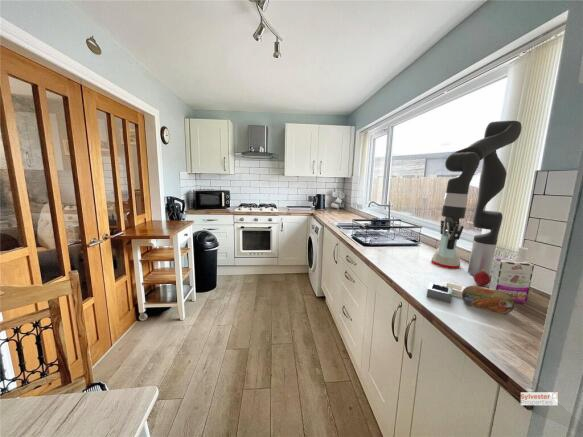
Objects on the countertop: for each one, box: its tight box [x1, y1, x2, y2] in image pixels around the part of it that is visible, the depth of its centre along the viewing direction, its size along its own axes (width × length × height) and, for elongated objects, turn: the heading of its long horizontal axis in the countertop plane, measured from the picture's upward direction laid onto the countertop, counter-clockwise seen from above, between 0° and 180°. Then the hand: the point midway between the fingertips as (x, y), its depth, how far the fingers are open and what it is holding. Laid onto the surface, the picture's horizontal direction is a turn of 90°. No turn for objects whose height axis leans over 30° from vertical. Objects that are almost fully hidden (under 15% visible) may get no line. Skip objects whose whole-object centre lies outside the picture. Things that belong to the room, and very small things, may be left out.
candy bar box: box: [489, 257, 535, 304], centre depth 96 cm, size 11×5×16 cm, turn 77°
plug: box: [438, 233, 458, 258], centre depth 94 cm, size 4×4×9 cm
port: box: [426, 281, 453, 304], centre depth 95 cm, size 8×8×4 cm
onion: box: [473, 270, 491, 287], centre depth 107 cm, size 6×6×8 cm
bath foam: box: [511, 246, 531, 263], centre depth 103 cm, size 7×7×20 cm
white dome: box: [431, 246, 461, 270], centre depth 134 cm, size 14×14×15 cm
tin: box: [461, 285, 515, 315], centre depth 87 cm, size 15×3×8 cm, turn 62°
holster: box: [443, 280, 465, 299], centre depth 100 cm, size 7×7×3 cm
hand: (447, 247), depth 95 cm, fingers closed on plug, 4 cm apart
